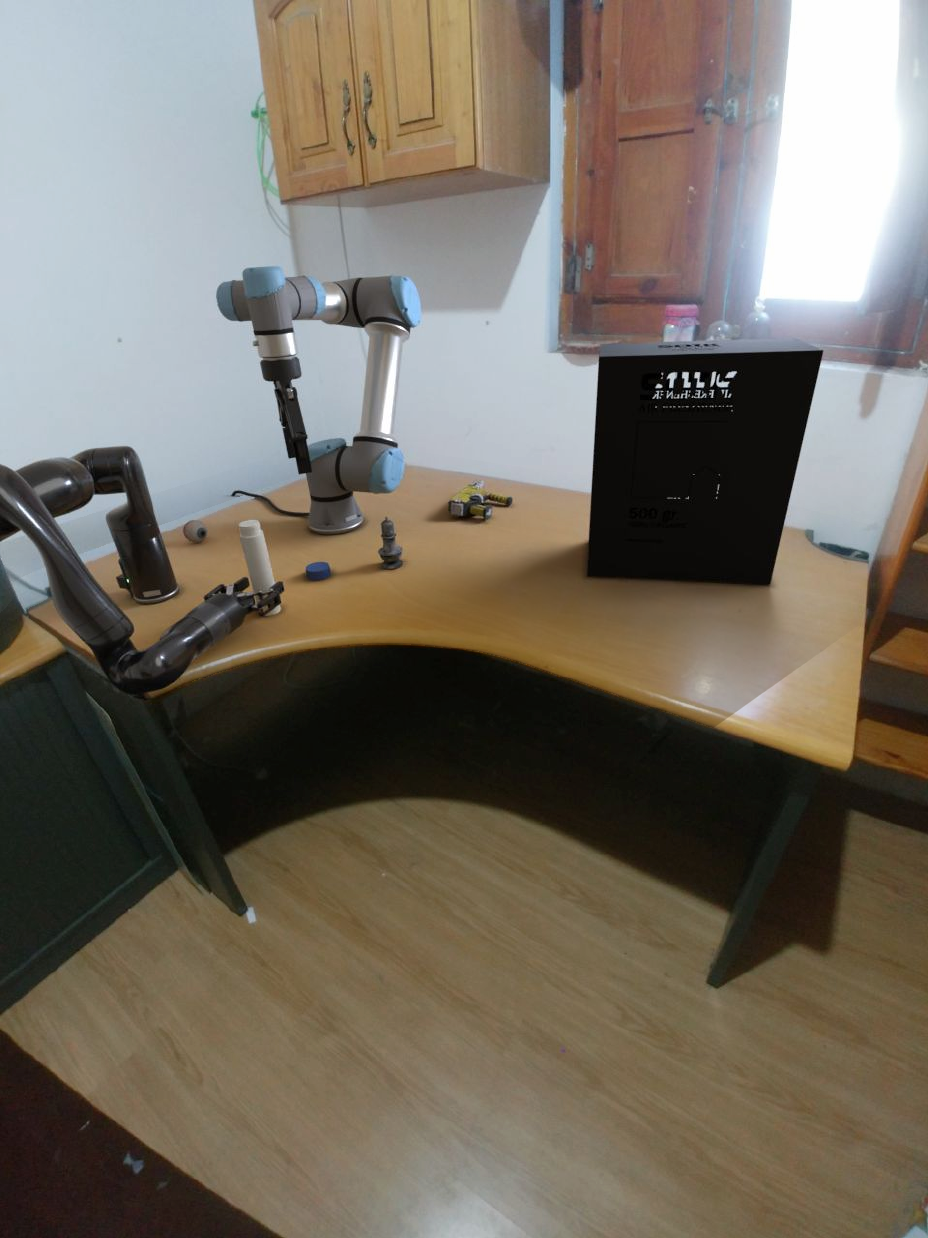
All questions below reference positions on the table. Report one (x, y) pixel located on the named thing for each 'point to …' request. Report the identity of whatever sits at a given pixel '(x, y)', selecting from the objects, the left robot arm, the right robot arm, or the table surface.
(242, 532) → the jar
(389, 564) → the grey tall stepped piece
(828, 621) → the table surface
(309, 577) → the lid
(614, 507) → the cardboard box
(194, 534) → the eyeball
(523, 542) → the table surface
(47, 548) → the left robot arm
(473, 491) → the toy gun
